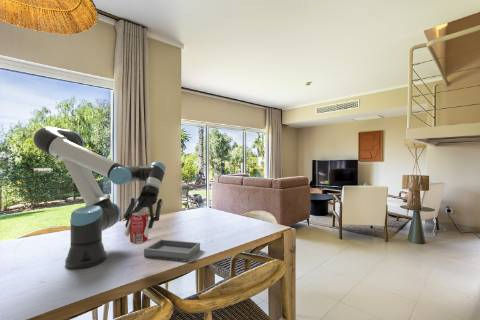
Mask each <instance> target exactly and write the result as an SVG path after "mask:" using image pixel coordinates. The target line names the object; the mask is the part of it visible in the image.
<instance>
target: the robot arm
mask: <svg viewBox="0 0 480 320" xmlns="http://www.w3.org/2000/svg"><path fill="white" fill-rule="evenodd" d="M32 139H33V140H32V141H33V144H34V146H35V147H36V148H37V150H40V151H41V152H43V153H46V154H49V156H53V157H55V158H57V160H59V161H61V162H63V164H64V166H65V168H66V169H67V172H68V173H69V175H70V178H71V179H72V181H73V183H74V184H75V186H76V188H77V191H78V192H79V194H80V196H81V198H82V200H83V202H84V203H85V206H81V207H78V208H76V209H74V210H72V212H71V214H70V221H69V222H70V245H69V250H68V252H67V255H66V256H67V257H66V258H65V260H64V263H65V265H64V266H65V268H68V269H71V270H76V269H77V270H78V269H79V270H80V269H85V268H86V269H87V268H90V267H96V266H98V265H99V264H102V263H103V262H104V261H106V260H107V251H106V250H105V247H104V244H103V239H102V237H103V231H105V230H107V229H109V228H111V227H113V226H115V224H117V223H118V222H119V220H120V218H121V209H120V207H119V206H118V205H117V204H116V203H114V202H112V201H111V198H110V197H108V196H105V195H104V193H103V191H102V189H101V187H100V185H99V184H98V182H97V179H96V178H95V176H94V175H93V172H94V173H97V174H98V175H101V176H104V177H106V178H108V179H109V180H110V181H111V183H113V184H114V185H120V186H122V185H126V184H130V183H135V182H144V183H143V185H142V189H141V190H140V191H141V192H140V194H139V196H138V198H135V197H131V199H130V203H129V206H128V207H127V209H126V211H125V212H124V215H123V218H124V220H125V221H126V223H125V226H124V227H125V231H124V235H125V237H127V238H128V237H130V218H131V216H132V213H135V212H141V210H143V208H148V210H149V211H148V212H149V218H148V221H147V225H146V228H145V231H144V235H145V237H147V236H148V237H149V232H150V230H151V229H153V226H154V222H158V221H160V216H161V215H160V214H161V208H162V205H163V204H164V203H163V199H162V198H159V199H158V196H159V194H160V189H161V187H162V183H163V180H164V178H165V177H164V176H165V175H166V174H165V172H166V166H165V164H164V163H162V162H160V161H154V162H152V163H151V164H150V165H146V166H143V165H141V166H140V165H126V166H125V165H123V164H121V163H118V162H116V161H114V160H113V159H110V158H108V157H105V156H103V155H101V154H98V153H96V152H94V151H92V150H90V149H88V148H85V147H84V144H85V142H84V138H83V137H82V135H80V133H78V132H76V131H74V130H72V129H64V128H58V127H55V126H54V127H53V126H45V127H42V128H39V129H38V130H37V131H36V132H35V133H34V136H33V138H32ZM92 171H93V172H92ZM155 204H156V207H155V208H156V209H155V213H154V205H155ZM154 214H155V215H154Z"/></svg>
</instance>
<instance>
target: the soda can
mask: <svg viewBox="0 0 480 320" xmlns="http://www.w3.org/2000/svg"><path fill="white" fill-rule="evenodd" d="M148 219H149V216H148V212H146V211H139V212H135V213H132V216H131V218H130V233H129V241H130V243H131V244H132V245H141V244H145V243H146V242H147V241H148V239H149V235H148V236H147V237H145V235H144V231H145V228H146V225H147V221H148Z"/></svg>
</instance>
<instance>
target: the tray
mask: <svg viewBox="0 0 480 320" xmlns="http://www.w3.org/2000/svg"><path fill="white" fill-rule="evenodd" d="M197 251H198V252H200V251H201V242H194V241H193V242H192V241H182V240H173V239H172V240H171V239H164V238H163V239H162V238H161V239H160V238H159V240H157V241H155V242H153V243H152V244H150V245H148V246H146V247H145V248H143V254H144V255H143V257H145V258H152V259H153V258H154V259H162V258H165V259H164V260H171V259H177V260H176V261H180V260H186V261H185V262H189V261H190V260H191V259H192V258H193V257H194V256H195V255H196V254H197V253H198V252H197ZM196 252H197V253H196ZM195 253H196V254H195ZM194 254H195V255H194ZM193 255H194V256H193ZM192 256H193V257H192ZM191 257H192V258H191ZM166 258H167V259H166ZM190 258H191V259H190ZM189 259H190V260H189ZM188 260H189V261H188Z"/></svg>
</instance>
